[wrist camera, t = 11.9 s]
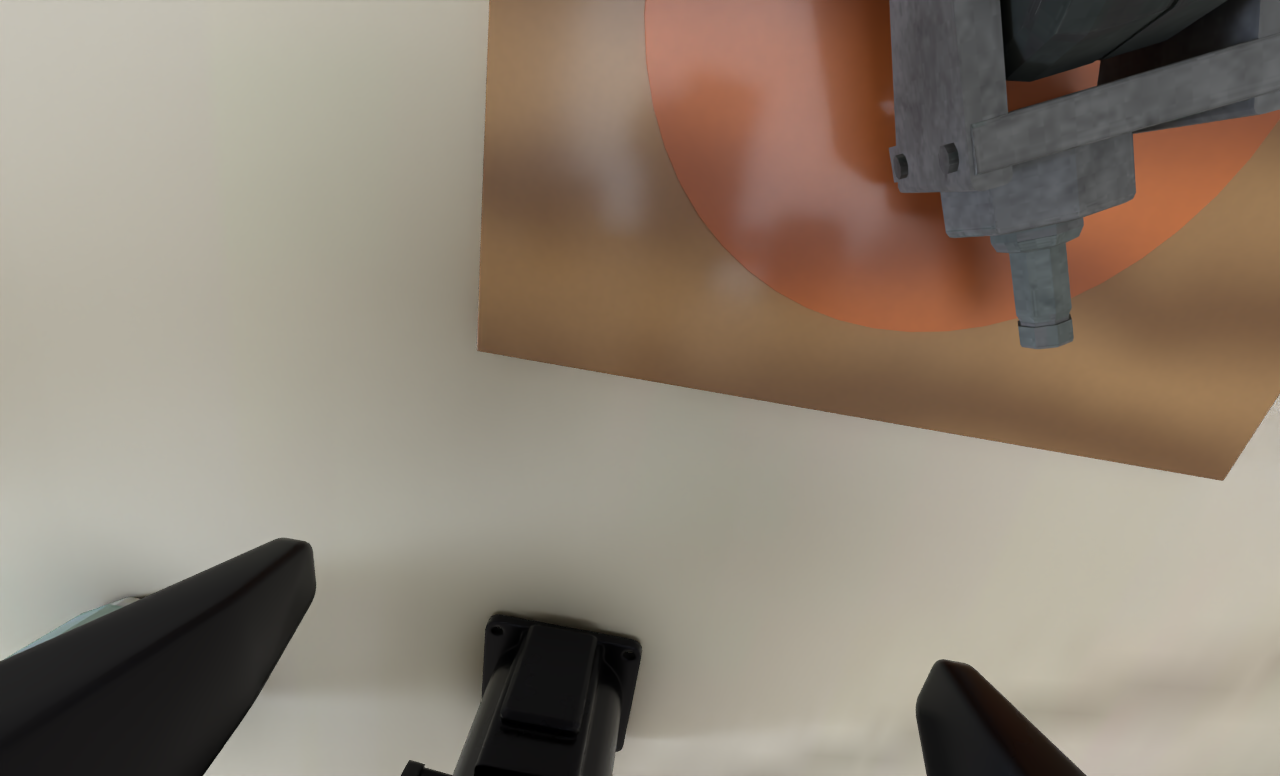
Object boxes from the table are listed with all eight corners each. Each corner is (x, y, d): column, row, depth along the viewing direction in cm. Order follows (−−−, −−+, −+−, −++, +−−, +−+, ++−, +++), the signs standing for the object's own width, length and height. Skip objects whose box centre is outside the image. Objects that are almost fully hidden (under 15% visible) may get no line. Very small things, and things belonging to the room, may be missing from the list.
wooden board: (1203, 468, 19) (1228, 485, 18) (484, 343, 20) (473, 353, 19) (1870, -595, 10) (1981, -665, 9) (530, -753, 11) (514, -833, 10)
